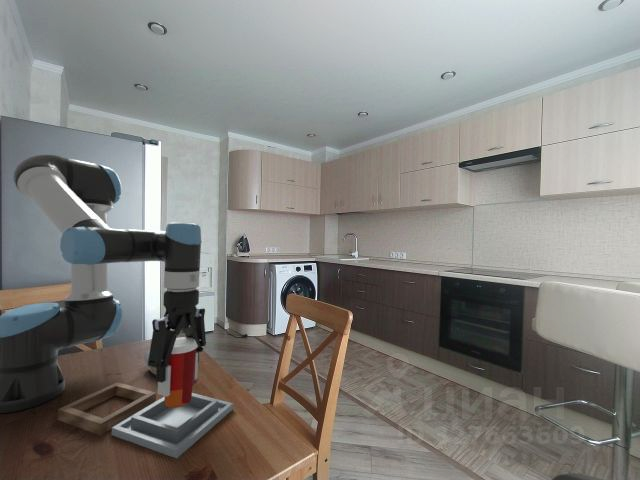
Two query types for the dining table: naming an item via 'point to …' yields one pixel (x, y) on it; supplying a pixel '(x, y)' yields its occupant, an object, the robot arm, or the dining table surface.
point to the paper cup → (181, 372)
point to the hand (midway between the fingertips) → (178, 385)
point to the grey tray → (172, 424)
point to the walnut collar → (93, 423)
